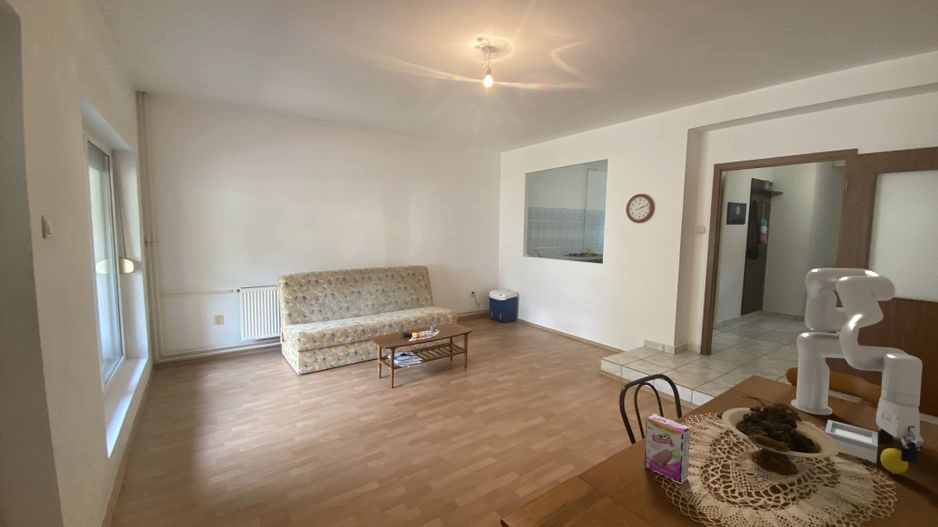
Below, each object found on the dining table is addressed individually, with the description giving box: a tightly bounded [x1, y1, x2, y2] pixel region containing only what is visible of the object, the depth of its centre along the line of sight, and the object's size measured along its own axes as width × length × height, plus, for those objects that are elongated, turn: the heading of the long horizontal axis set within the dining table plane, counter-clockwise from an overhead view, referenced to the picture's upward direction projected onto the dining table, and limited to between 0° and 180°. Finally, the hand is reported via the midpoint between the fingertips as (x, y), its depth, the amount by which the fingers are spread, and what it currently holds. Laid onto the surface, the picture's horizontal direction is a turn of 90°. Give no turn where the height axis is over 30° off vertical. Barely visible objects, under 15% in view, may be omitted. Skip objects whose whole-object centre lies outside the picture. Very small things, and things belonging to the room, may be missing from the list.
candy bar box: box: [643, 413, 691, 483], centre depth 114 cm, size 11×5×16 cm, turn 37°
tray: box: [824, 419, 879, 464], centre depth 127 cm, size 12×12×6 cm
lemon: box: [880, 447, 909, 475], centre depth 114 cm, size 6×6×8 cm
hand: (896, 452), depth 113 cm, fingers open, 9 cm apart
